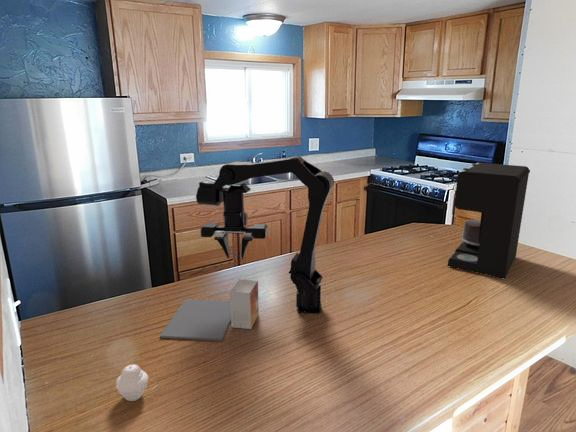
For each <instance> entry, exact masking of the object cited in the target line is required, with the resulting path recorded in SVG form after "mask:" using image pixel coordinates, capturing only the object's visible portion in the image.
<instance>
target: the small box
mask: <svg viewBox="0 0 576 432" xmlns="http://www.w3.org/2000/svg"><path fill="white" fill-rule="evenodd" d="M229 299H230V300H229V301H230V308H231V322H230V324H231V325H230V326H231V328H236V329H246V330H252V328H253V326H254V325H255V323H256V321H257V319H258V318H259V315H260V311H259V280H251V279H238V280H237V282H236V283H235V284H234V286H233V287H232V288H231V290H230V291H229Z"/></svg>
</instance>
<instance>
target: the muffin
mask: <svg viewBox="0 0 576 432" xmlns="http://www.w3.org/2000/svg"><path fill="white" fill-rule="evenodd" d="M148 383H149V376H148V374H147V372H145V371H144V370H142V369H141V367H140V366H139V365H138V364H128V365H127V366H125V367H123V369H122V371H121V374H120V375H119V376H118V377H117V379H116V382H115V387H116V390H117V391H118V393H119V394H120V395H121V396H122V397H123V398H124V399H125V400H126V401H128V402H135V401H138V400H139V399H141V398H142V396H143V394H144V392H145V390H146V388H147V386H148Z"/></svg>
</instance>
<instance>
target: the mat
mask: <svg viewBox="0 0 576 432" xmlns="http://www.w3.org/2000/svg"><path fill="white" fill-rule="evenodd" d="M230 324H231V308H230V300H221V299H219V300H214V299H197V298H196V299H193V298H192V299H191V298H190V299H189V298H188V299H187V298H185V300H184V301H183V302H182V303H181V305H180V307H179V308H178V310H177V311H176V312H175V314H174V315H173V317H171V320H170V321H169V322H168V324H167V325H166V326H165V328H164V329H163V330H162V331H161V333H160V335H159V338H160V339H171V340H172V339H175V340H195V341H212V342H213V341H216V342H222V341H223V340H224V337H225V335H226V333H227V331H228V328H229V326H230Z"/></svg>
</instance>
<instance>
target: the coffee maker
mask: <svg viewBox="0 0 576 432" xmlns="http://www.w3.org/2000/svg"><path fill="white" fill-rule="evenodd" d="M530 173H531V169H529V167H528V166H525V165H514V164H513V165H512V164H499V163H487V162H476V163H472V164H471V165H470V166H468V167H465V168H464V167H463V169H462V170H461V171H460V172H458V174H457V179H456V187H455V194H454V207H455V208H456V209H457V210H461V211H467V212H473V213H474V212H476V213H481V215H480V219H468V220H467V219H466V220H464V222H463V229H462V236H461V243H460V245H458V246H457V248H456V249H455V251H454V252H453V254H452V255H451V256H450V257H449V258H448V259H447V267H448V266H450V267H449V268H451V267H455V268H459V269H458V270H460V269H463V270H462V271H464V270H468V271H467V272H469V271H473V272H478V273H482V274H481V275H483V274H487V275H491V276H490V277H492V276H495V277H494V278H496V277H499V278H498V279H501V278H504V279H503V280H505V279H506V278H507V276H508V274H507V273H509V272H508V271H510V270H511V268H512V266H513V264H514V262H515V260H516V256H517V251H518V245H519V238H520V232H521V225H522V219H523V212H524V207H525V201H526V195H527V187H528V181H529V177H530V176H529V174H530ZM465 218H467V217H466V216H465ZM514 259H515V260H514ZM513 261H514V262H513ZM512 263H513V264H512ZM511 265H512V266H511ZM510 267H511V268H510ZM455 268H454V269H455ZM509 269H510V270H509ZM473 272H472V273H473ZM478 273H477V274H478ZM487 275H486V276H487Z"/></svg>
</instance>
